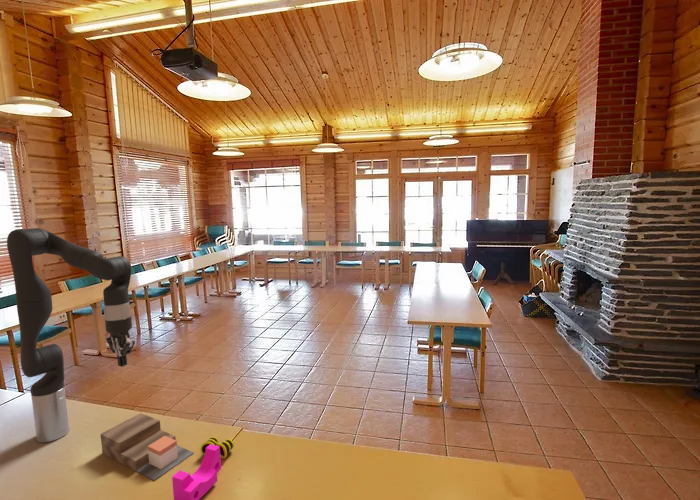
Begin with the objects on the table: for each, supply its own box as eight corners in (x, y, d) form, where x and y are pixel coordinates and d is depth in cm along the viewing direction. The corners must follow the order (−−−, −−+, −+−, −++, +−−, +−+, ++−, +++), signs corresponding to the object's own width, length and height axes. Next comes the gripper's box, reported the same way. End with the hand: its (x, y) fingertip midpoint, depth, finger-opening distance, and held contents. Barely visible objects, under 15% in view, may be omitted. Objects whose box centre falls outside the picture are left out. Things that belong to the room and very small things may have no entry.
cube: (159, 451, 114) (161, 469, 114) (176, 440, 119) (177, 457, 120) (147, 446, 117) (149, 463, 117) (164, 435, 122) (166, 452, 123)
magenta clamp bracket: (191, 507, 100) (189, 482, 99) (174, 501, 102) (172, 476, 101) (227, 470, 114) (226, 448, 113) (211, 466, 116) (210, 444, 115)
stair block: (102, 453, 123) (100, 434, 122) (142, 430, 135) (140, 413, 135) (154, 480, 110) (152, 459, 109) (193, 453, 122) (192, 433, 121)
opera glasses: (235, 450, 123) (234, 437, 123) (226, 461, 118) (225, 447, 118) (210, 446, 126) (209, 433, 125) (200, 456, 121) (199, 442, 120)
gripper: (95, 316, 122) (100, 366, 124) (118, 322, 116) (123, 373, 118) (118, 311, 129) (122, 358, 130) (141, 315, 122) (145, 365, 124)
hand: (122, 365), depth 124 cm, fingers closed
